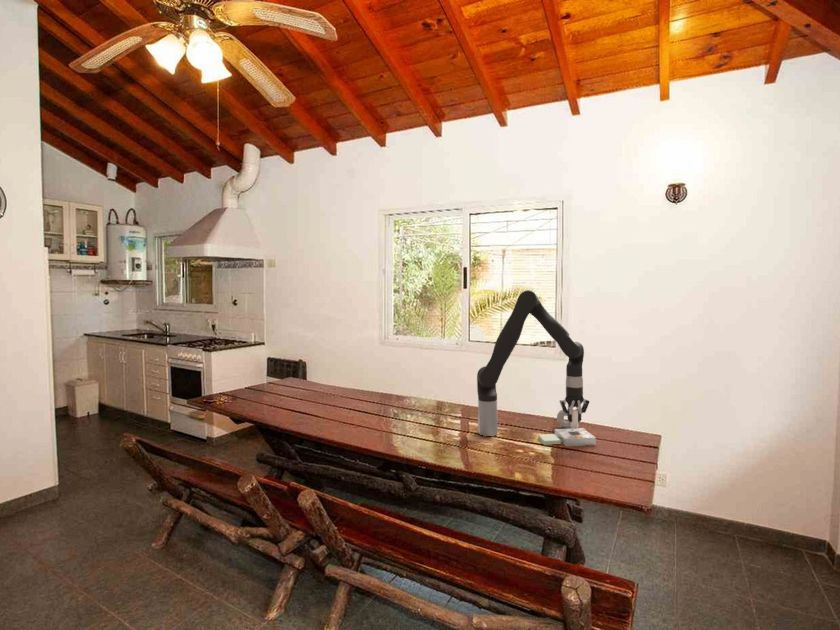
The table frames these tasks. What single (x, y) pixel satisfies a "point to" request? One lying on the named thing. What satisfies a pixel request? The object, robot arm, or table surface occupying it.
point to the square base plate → (549, 439)
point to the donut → (561, 420)
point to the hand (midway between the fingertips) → (574, 421)
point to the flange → (575, 437)
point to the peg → (574, 418)
